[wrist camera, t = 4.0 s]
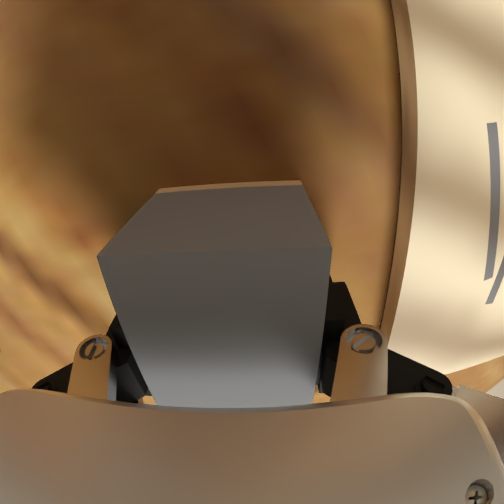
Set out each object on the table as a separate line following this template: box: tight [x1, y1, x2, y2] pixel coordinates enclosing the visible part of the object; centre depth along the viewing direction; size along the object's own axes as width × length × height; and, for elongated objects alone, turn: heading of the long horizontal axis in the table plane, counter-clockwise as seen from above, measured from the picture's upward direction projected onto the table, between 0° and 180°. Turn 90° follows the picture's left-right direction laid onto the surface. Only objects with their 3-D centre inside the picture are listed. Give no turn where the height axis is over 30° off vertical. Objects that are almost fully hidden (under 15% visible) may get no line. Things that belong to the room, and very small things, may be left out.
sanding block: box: [97, 180, 332, 408], centre depth 10 cm, size 8×5×5 cm, turn 3°
